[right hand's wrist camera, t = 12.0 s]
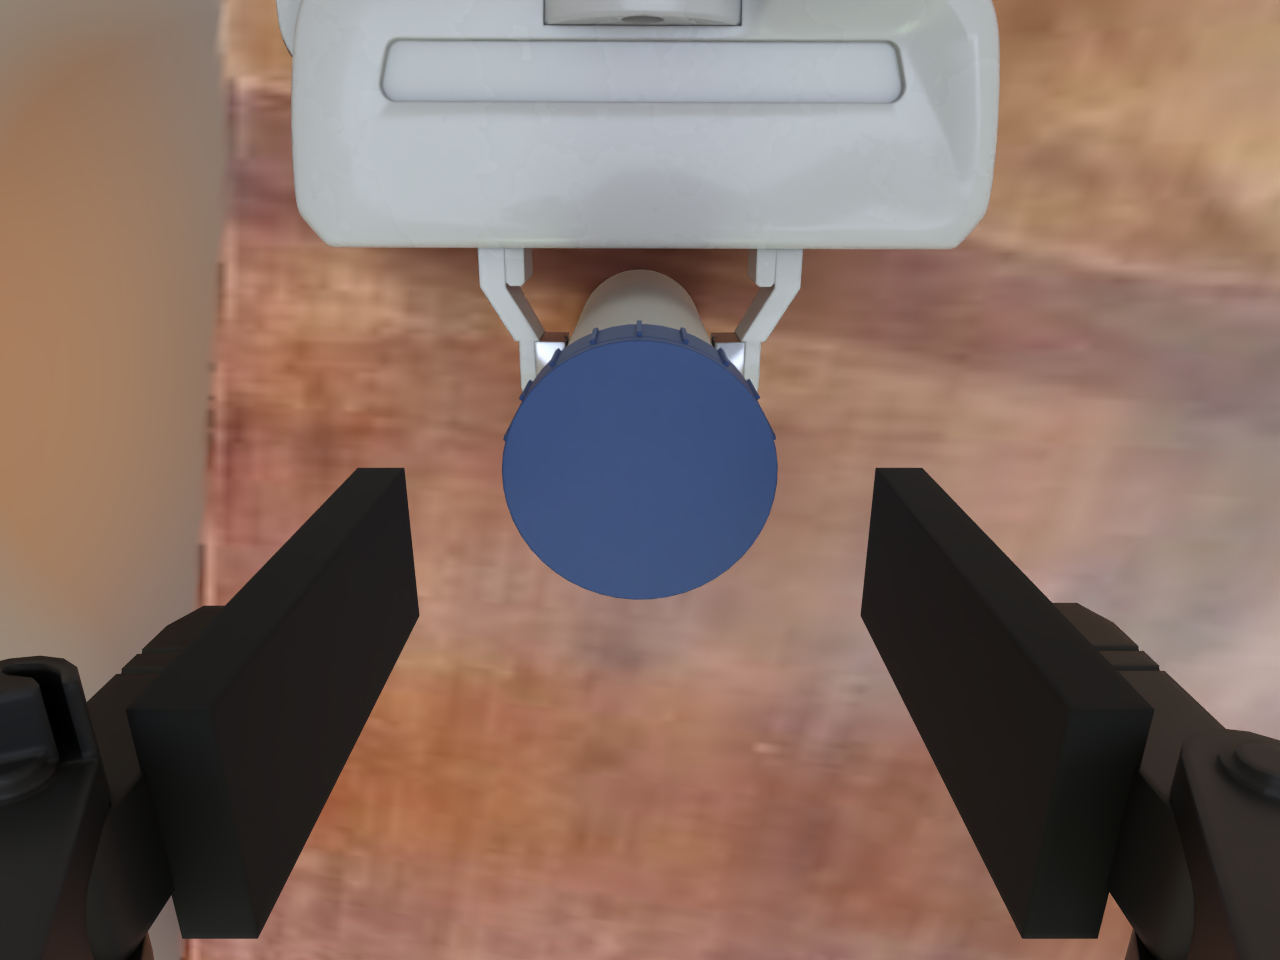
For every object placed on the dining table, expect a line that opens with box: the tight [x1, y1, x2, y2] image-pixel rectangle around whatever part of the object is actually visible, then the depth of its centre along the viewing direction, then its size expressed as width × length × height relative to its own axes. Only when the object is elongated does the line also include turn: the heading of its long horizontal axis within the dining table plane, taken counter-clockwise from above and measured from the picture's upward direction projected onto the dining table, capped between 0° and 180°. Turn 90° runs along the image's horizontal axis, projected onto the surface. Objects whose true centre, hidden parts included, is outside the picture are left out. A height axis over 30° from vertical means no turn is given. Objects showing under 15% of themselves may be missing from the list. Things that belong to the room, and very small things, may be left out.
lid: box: [502, 320, 778, 599], centre depth 18 cm, size 6×6×2 cm
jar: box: [568, 269, 712, 345], centre depth 25 cm, size 5×5×17 cm
